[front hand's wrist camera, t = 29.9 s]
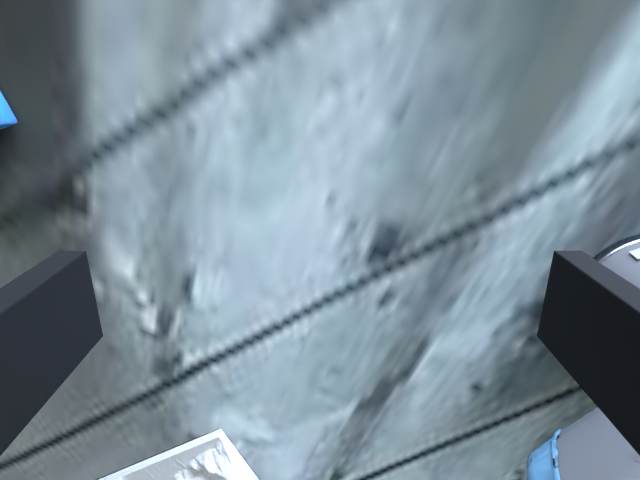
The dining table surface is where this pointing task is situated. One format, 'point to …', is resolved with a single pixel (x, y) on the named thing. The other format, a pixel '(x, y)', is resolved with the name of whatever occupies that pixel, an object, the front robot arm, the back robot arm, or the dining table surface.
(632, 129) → the dining table surface
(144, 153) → the dining table surface
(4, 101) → the ink box
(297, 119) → the dining table surface
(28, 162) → the dining table surface
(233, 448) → the relief map
